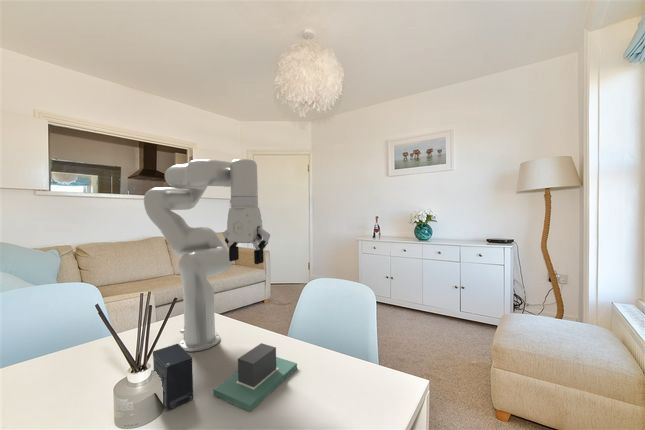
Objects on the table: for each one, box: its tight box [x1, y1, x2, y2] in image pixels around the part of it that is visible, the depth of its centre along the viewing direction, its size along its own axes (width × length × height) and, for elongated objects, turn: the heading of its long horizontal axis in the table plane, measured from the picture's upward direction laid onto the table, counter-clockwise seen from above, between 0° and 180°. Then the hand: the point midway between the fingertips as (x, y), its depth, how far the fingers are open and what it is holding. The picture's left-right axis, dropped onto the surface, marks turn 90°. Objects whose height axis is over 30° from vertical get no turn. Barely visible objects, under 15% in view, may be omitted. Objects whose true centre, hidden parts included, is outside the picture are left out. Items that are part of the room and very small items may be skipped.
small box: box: [152, 343, 194, 412], centre depth 70 cm, size 11×6×10 cm, turn 45°
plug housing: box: [237, 342, 277, 387], centre depth 76 cm, size 5×9×6 cm, turn 151°
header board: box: [212, 356, 298, 412], centre depth 76 cm, size 12×19×2 cm, turn 151°
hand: (246, 261), depth 83 cm, fingers open, 9 cm apart
